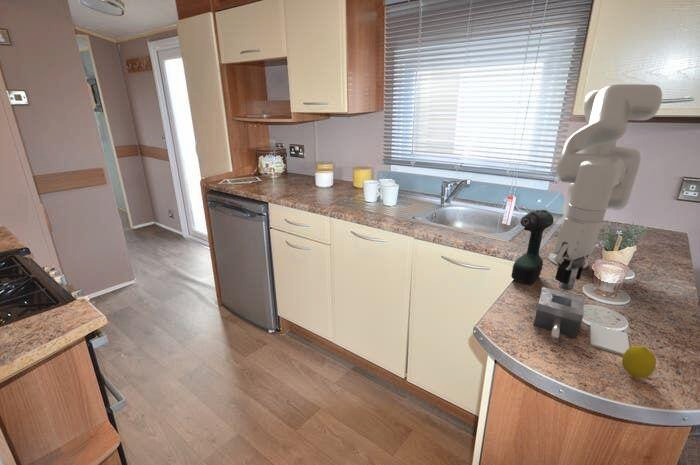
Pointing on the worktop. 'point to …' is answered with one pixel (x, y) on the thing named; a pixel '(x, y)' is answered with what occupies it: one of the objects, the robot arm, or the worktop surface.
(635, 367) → the lemon
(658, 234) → the worktop surface
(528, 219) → the power drill
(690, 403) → the worktop surface
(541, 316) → the block
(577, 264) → the dark gray knob
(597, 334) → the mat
